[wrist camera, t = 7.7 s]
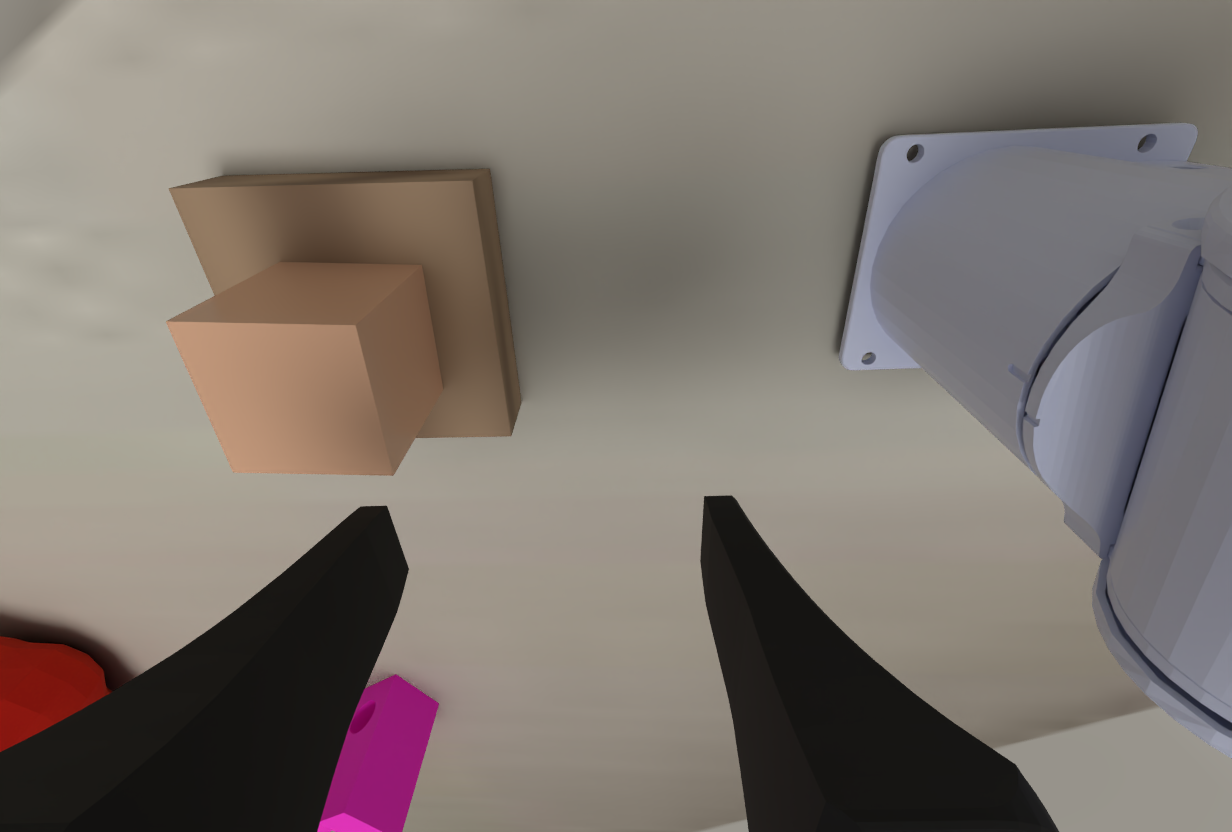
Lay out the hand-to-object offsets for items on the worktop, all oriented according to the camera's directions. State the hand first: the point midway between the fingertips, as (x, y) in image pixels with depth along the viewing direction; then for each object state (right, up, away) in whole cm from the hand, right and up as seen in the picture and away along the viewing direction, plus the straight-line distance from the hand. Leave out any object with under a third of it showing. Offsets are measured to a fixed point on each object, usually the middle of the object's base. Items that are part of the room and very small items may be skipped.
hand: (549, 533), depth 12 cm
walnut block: (-7, +7, +8) cm, 13 cm away
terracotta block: (-7, +6, +6) cm, 11 cm away
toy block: (-16, -19, +24) cm, 35 cm away
